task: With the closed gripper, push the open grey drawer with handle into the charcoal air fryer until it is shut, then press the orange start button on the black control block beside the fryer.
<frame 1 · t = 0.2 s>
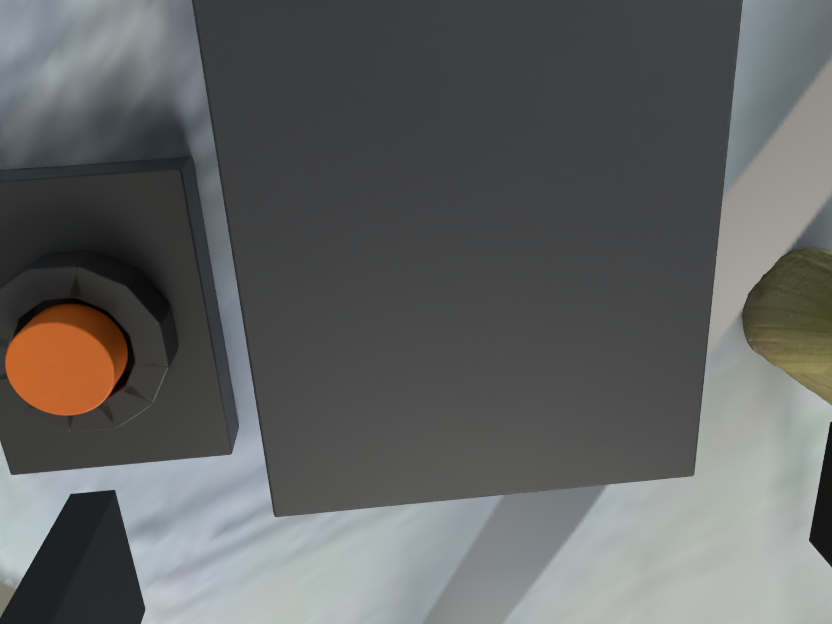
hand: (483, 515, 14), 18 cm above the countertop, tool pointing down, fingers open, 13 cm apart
control block: (106, 311, 30), on the countertop
start button: (68, 359, 26), point 4 cm above the countertop, slide at 0.1 cm
fennel bulb: (784, 296, 33), on the countertop
fryer: (442, 189, 30), on the countertop
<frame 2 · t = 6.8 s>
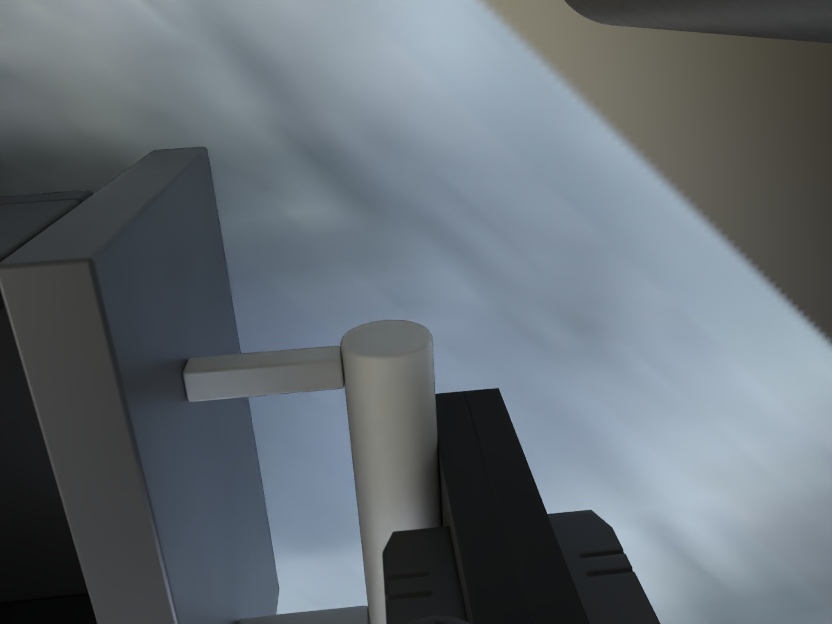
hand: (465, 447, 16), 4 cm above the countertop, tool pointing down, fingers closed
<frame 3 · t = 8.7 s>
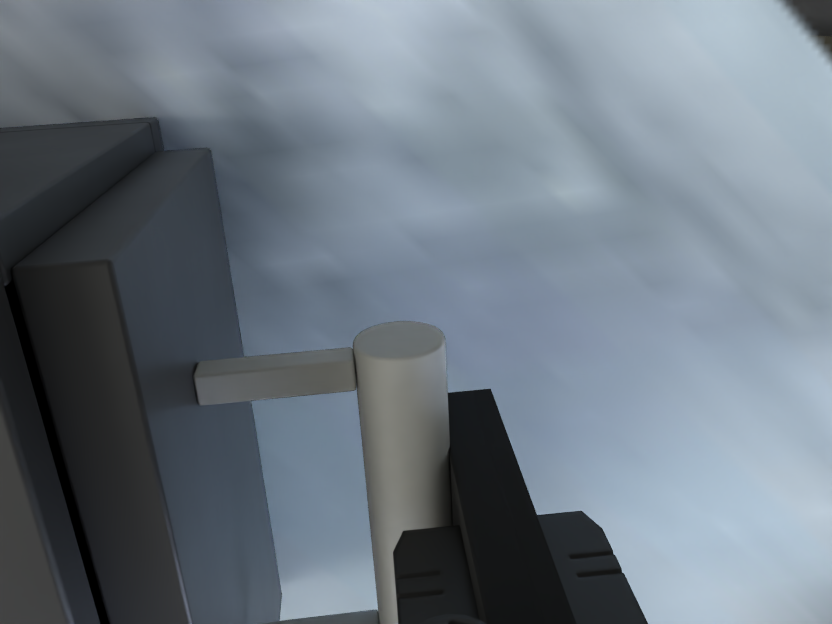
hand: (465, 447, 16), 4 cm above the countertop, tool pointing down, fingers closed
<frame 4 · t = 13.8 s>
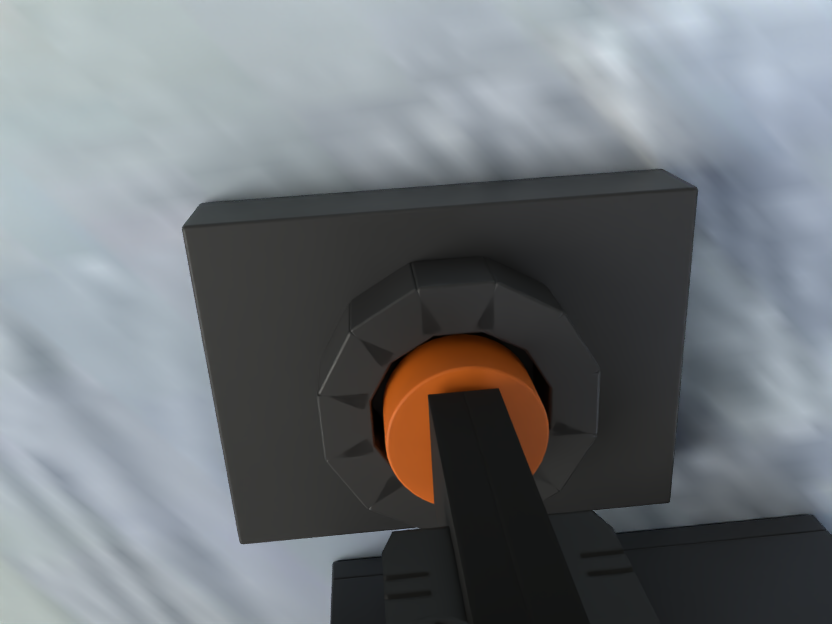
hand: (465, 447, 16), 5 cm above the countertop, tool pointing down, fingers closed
control block: (442, 343, 21), on the countertop
start button: (462, 420, 17), point 4 cm above the countertop, slide at -0.2 cm, touching gripper
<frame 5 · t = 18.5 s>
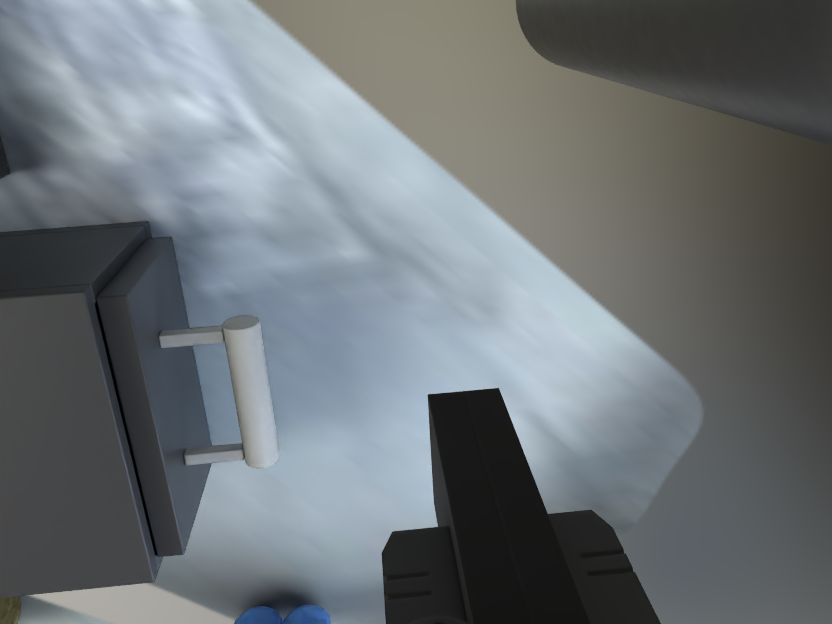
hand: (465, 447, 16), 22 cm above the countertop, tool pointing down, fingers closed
grapes: (266, 620, 46), on the countertop
fryer: (20, 361, 38), on the countertop
grey drawer with handle: (64, 400, 34), point 5 cm above the countertop, slide at 0.0 cm, touching fryer
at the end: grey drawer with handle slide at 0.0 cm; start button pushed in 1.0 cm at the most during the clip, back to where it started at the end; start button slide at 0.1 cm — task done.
